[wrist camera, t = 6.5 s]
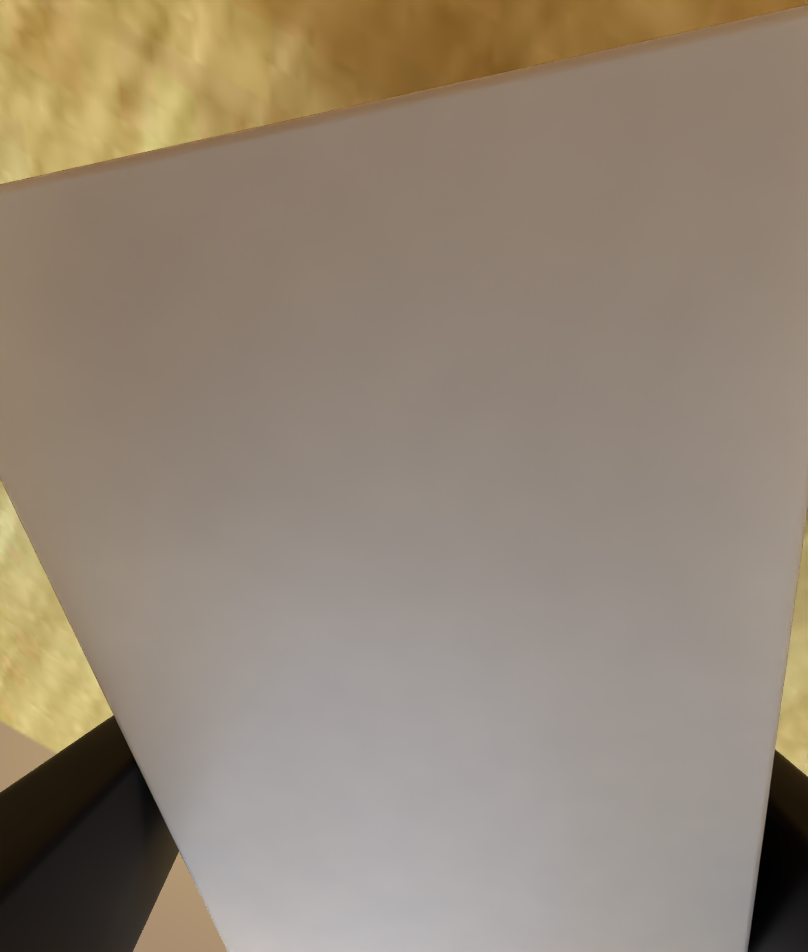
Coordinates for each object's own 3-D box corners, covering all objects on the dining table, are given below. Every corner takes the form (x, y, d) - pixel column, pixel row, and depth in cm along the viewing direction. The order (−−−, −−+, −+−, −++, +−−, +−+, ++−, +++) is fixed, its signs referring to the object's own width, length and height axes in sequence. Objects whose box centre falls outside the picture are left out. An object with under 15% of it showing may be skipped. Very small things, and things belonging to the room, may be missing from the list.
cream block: (293, 824, 10) (243, 991, 8) (83, 224, 6) (-137, 210, 4) (672, 822, 9) (742, 1015, 7) (702, 98, 5) (890, -21, 3)
